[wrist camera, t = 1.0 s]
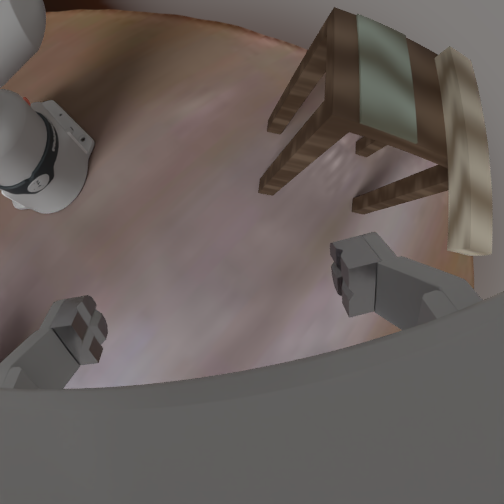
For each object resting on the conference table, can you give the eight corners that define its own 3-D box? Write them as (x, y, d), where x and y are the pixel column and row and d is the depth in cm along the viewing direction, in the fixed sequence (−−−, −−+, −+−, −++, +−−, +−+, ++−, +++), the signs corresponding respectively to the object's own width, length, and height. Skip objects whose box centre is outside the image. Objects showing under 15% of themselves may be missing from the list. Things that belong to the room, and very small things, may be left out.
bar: (469, 255, 25) (491, 254, 22) (446, 250, 25) (470, 248, 22) (455, 70, 27) (470, 60, 24) (434, 58, 26) (449, 46, 23)
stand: (363, 214, 56) (491, 178, 26) (258, 192, 53) (333, 113, 23) (366, 145, 57) (475, 76, 27) (268, 119, 53) (335, 5, 24)
